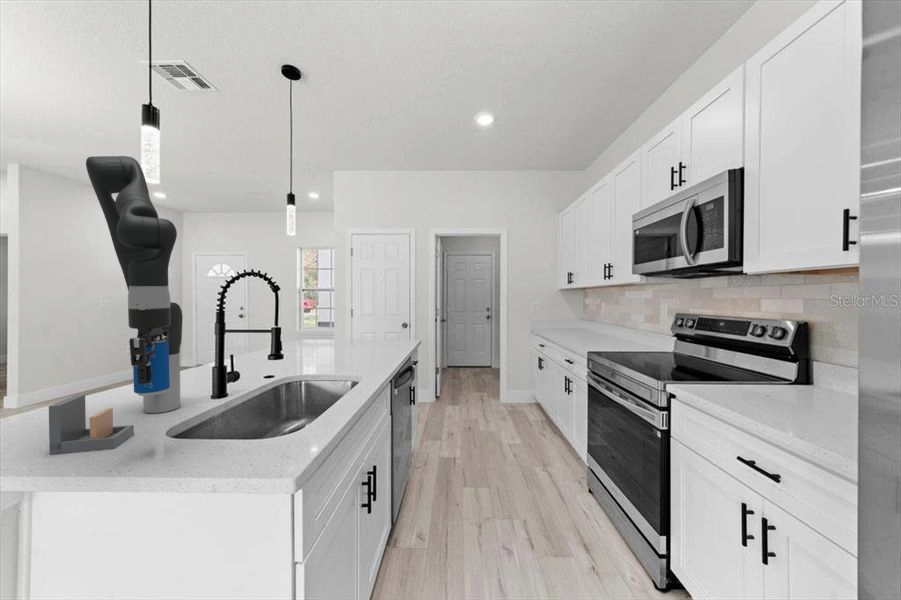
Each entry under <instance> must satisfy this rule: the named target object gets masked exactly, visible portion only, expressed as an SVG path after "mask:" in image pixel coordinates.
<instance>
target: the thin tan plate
mask: <svg viewBox="0 0 901 600" xmlns="http://www.w3.org/2000/svg"><path fill="white" fill-rule="evenodd" d="M113 411H114V410H113V407H111V408H109V407H108V408H105V409H103V410H101V411H99V412H98V413H95V414H93V415H92V416H90V417H89V428H90V439H98V438H105V437H107V436H109V435H110V434H112V433H113V427H114V416H113V415H114V412H113Z"/></svg>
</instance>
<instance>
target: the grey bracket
mask: <svg viewBox="0 0 901 600" xmlns="http://www.w3.org/2000/svg"><path fill="white" fill-rule="evenodd" d="M86 413H87V412H86V395H85V394H77V395H76V394H75V395H73V396H71V397H67V398H66V399H63V400H61V401H58V402H56V403H53V404H51V405H48V436H49V437H48V438H49V439H48V440H49V444H48V445H49V455H50V454H53V455H57V454H56V453H64V454H70V453H69V452H74V453H82V452H81V451H85V452H92V451H91V450H96V451H105V450H104V449H107V450H114V449H116V448H118V447H119V446H120V445H122V444H123V443H124V442H125V441H127V440H129V439H130V438H132V436H134V435H135V425H134V424H130V425H129V424H128V425H117V426H116V425H115V426H114V425H113V433H112V434H110V435H109V436H107V437H105V438H98V439H90V427H89V428H88V427H87V423H86V419H87V417H86V415H87V414H86ZM86 427H87V428H86Z"/></svg>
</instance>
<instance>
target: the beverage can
mask: <svg viewBox="0 0 901 600" xmlns="http://www.w3.org/2000/svg"><path fill="white" fill-rule="evenodd" d="M153 343H155V342H152V344H153ZM152 348H153V346H152V345H151V346H149V347H147V346H146V350H147V352H149V351H151V349H152ZM136 358H137V356H136ZM141 360H142V356H141ZM132 368H133V369H132V370H133V371H132V372H133V375H132V377H133V392H134V394H137V395H138V396H140V397H143V396H151V395H157V394H161V393H164V392H166V390H167V389H169V388H170V375H169V345H168V343H167V342H166V339H164V340H163V341H158V342H156V344H155V355H154V356H152V361H151V382H150V383H148V384H139V383H138V367H136V366H132Z"/></svg>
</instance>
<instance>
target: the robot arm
mask: <svg viewBox="0 0 901 600" xmlns="http://www.w3.org/2000/svg"><path fill="white" fill-rule="evenodd" d="M85 166H86V171H87V175H88V177H89V181H90V182H91V185H92V188H93V191H94V193H95V195H96V197H97V200H98V203H99V205H100V208H101V211H102V212H103V214H104V219H105V221H106V224H107V227H108V231H109V235H110V238H111V241H112V244H113V249H114V250H115V251H114V252H115V254H116V257H117V258H116V259H117V261H118V262H119V265H120V268H121V272H122V274H123V277H124V281H125V284H126V288H127V291H128V294H127V309H128V310H127V313H128V314H127V315H128V316H127V317H128V327H129V328H130V329H134V330H135V329H136V330H137V336H136V337H131V338H130V339H129V340H128V341H129V351H130V352H129V353H130V365H131V367H133V366H136V367H138V383H139V384H148V383H150V382H151V361H152V356H154V355H155V344H156V342H158V341H163V340H164V339H166V342H167V343H168V345H169V375H170V388H169V389H167V390H166V392H164V393H161V394H157V395H151V396H142V398H143V401H142V402H143V403H142V405H143V406H142V407H143V410H142V411H143V412H144V413H145V414H159V413H166V412H171V411H174V410H177V409H180V408H181V359H180V357H181V354H180V353H181V352H180V351H181V345H182V339H183V338H182V334H183V310H182V308H181V306H180V305H179V304H178V303H176V302H172V301H171V294H170V293H171V292H170V289H169V266H170V261H171V260H170V259H171V256H172V252H173V250H174V247H175V244H176V241H177V235H178V234H177V233H178V232H177V231H178V230H177V228H176V226H175V224H174V223H173V222H172V220H169V219H166V218H161V217H159V214H158V212H157V209H156V208H155V206H154V204H153V203H152V200H151V198H150V193H149V188H148V183H147V181H146V178H145V175H144V172H143V169H142V167H141V165H140V163H139V162H138V161H137V160H136V159H135V158H134V157H132V156H127V155H120V156H119V155H108V156H106V155H105V156H103V155H101V156H89V157H87V158H86V160H85ZM112 194H117V195H116V197H115V199H114V198H113V196H112ZM152 342H155V343H153V344H152ZM151 345H152V346H153V348H152V349H151V351H149V352H147V350H146V346H147V347H149V346H151ZM136 356H137V358H136ZM141 356H142V360H141Z"/></svg>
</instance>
